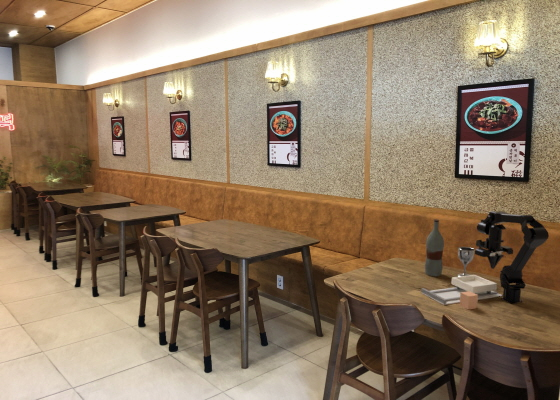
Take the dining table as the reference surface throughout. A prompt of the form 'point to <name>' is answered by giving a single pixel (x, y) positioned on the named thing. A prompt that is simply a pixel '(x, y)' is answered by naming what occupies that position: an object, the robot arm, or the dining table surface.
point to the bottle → (434, 251)
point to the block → (468, 300)
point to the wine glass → (465, 257)
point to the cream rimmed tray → (474, 284)
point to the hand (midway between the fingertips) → (492, 268)
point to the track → (454, 295)
